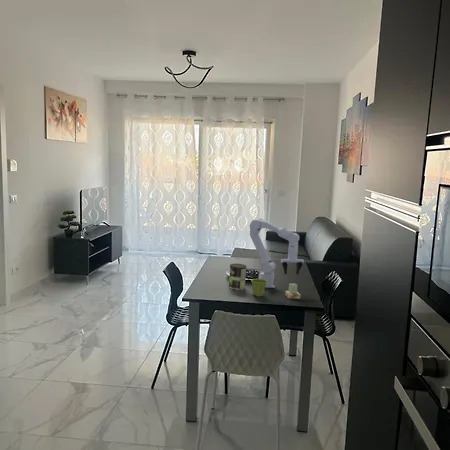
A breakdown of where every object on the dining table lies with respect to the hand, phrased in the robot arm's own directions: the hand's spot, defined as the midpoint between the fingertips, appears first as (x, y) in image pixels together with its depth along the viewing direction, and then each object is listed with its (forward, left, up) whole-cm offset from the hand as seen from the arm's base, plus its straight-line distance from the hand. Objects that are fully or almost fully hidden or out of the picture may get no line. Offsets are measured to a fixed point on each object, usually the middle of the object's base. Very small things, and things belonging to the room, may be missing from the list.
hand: (291, 274), depth 268 cm
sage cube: (-3, -13, -8) cm, 16 cm away
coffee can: (-33, +4, -11) cm, 35 cm away
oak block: (-3, -14, -11) cm, 18 cm away
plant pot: (-23, -11, -11) cm, 28 cm away
